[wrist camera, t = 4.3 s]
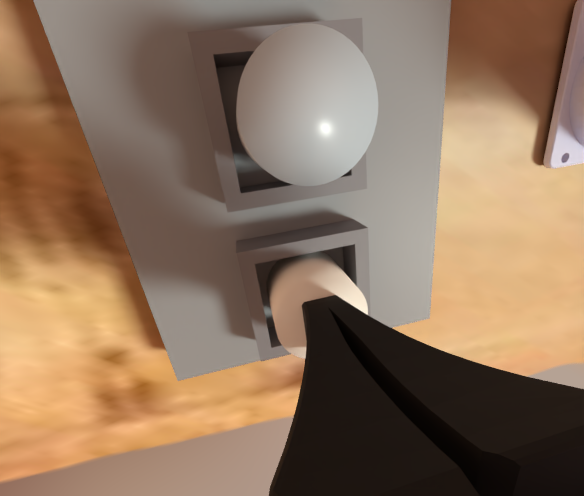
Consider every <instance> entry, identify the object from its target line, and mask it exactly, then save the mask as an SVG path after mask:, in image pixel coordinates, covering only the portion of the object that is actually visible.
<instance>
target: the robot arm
mask: <svg viewBox="0 0 584 496" xmlns="http://www.w3.org/2000/svg"><path fill="white" fill-rule="evenodd" d="M543 163H544V166H545V167H546V168H559V167H565V166H570V165H576V164H582V163H584V0H577V2H576V4H575V7H574V11H573V16H572V21H571V26H570V31H569V36H568V41H567V46H566V51H565V56H564V61H563V66H562V71H561V76H560V81H559V86H558V91H557V96H556V101H555V106H554V111H553V116H552V120H551V125H550V130H549V135H548V140H547V145H546V150H545V155H544V161H543ZM302 311H303V319H304V326H305V333H306V340H307V345H306V358H305V367H304V373H303V380H302V385H301V389H300V394H299V399H298V403H297V407H296V411H295V415H294V418H293V422H292V425H291V428H290V432H289V435H288V439H287V442H286V445H285V448H284V451H283V454H282V456H281V459H280V462H279V465H278V467H277V470H276V472H275V475H274V478H273V481H272V484H271V486H270V491H269V496H584V389H580V388H575V387H571V386H566V385H562V384H557V383H552V382H548V381H543V380H539V379H534V378H530V377H526V376H522V375H518V374H514V373H511V372H507V371H503V370H500V369H496V368H492V367H489V366H486V365H482V364H479V363H476V362H473V361H470V360H467V359H464V358H461V357H458V356H455V355H452V354H449V353H447V352H444V351H441V350H439V349H436V348H434V347H431V346H429V345H426V344H424V343H422V342H419V341H417V340H415V339H412V338H410V337H408V336H406V335H404V334H402V333H400V332H398V331H396V330H394V329H392V328H390V327H388V326H386V325H384V324H383V323H381V322H379V321H377V320H376V319H374V318H372V317H370V316H369V315H367V314H365V313H364V312H362V311H360V310H359V309H357V308H356V307H354V306H352V305H351V304H349V303H348V302H346V301H345V300H343V299H342V298H340V297H338V296H337V295H333V296H328V297H324V298H320V299H315V300H311V301H306V302H304V303H303V304H302Z"/></svg>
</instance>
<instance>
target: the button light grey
mask: <svg viewBox="0 0 584 496" xmlns="http://www.w3.org/2000/svg"><path fill="white" fill-rule="evenodd" d="M377 117H378V92H377V87H376V82H375V79H374V75H373V72H372V70H371V68H370V66H369V63H368V62H367V60H366V58H365V57H364V55H363V54H362V52H361V51H360V50H359V48H358V47H357V46H356V45H355V44H354V43H353V42H352V41H351V40H350V39H348V38H347V37H346V36H344V35H343V34H342V33H340V32H338V31H336V30H334V29H332V28H329V27H326V26H323V25H318V24H297V25H292V26H289V27H286V28H283V29H281V30H279V31H277V32H275V33H273V34H272V35H271V36H269V37H268V38H267V39H265V40H264V41H263V42H262V43H261V44H260V45H259V46H258V47H257V48H256V50H255V51H254V53H253V54H252V55H251V57H250V58H249V60H248V62H247V64H246V66H245V68H244V71H243V73H242V76H241V79H240V83H239V87H238V95H237V107H236V124H237V131H238V135H239V138H240V141H241V143H242V145H243V147H244V149H245V151H246V152H247V154H248V155H249V156H250V158H251V159H252V160H253V161H254V162H255V163H256V164H258V165H259V166H260V167H261V168H263V169H264V170H266V171H267V172H268V173H270V174H271V175H273V176H274V177H276V178H278V179H280V180H282V181H284V182H287V183H290V184H293V185H299V186H317V185H322V184H326V183H329V182H331V181H334V180H336V179H338V178H339V177H341V176H343V175H344V174H345V173H347V172H348V171H349V170H350V169H352V168H353V167H354V166H355V165H356V164H357V162H358V161H359V160H360V159H361V158H362V156H363V155H364V153H365V152H366V150H367V148H368V146H369V144H370V142H371V140H372V137H373V134H374V131H375V127H376V124H377Z"/></svg>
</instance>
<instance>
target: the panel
mask: <svg viewBox="0 0 584 496" xmlns="http://www.w3.org/2000/svg"><path fill="white" fill-rule="evenodd" d="M33 1H34V4H35V6H36V9H37V12H38V14H39V17H40V20H41V22H42V25H43V27H44V30H45V33H46V35H47V38H48V41H49V43H50V46H51V49H52V51H53V54H54V56H55V59H56V62H57V64H58V67H59V70H60V72H61V75H62V77H63V80H64V83H65V85H66V88H67V91H68V93H69V96H70V98H71V101H72V104H73V106H74V109H75V112H76V114H77V117H78V120H79V122H80V125H81V127H82V130H83V133H84V135H85V138H86V141H87V143H88V146H89V148H90V151H91V154H92V156H93V159H94V162H95V164H96V167H97V169H98V172H99V175H100V177H101V180H102V183H103V185H104V188H105V191H106V193H107V196H108V198H109V201H110V204H111V206H112V209H113V212H114V214H115V217H116V219H117V222H118V225H119V227H120V230H121V233H122V235H123V238H124V240H125V243H126V246H127V248H128V251H129V254H130V256H131V259H132V262H133V264H134V267H135V269H136V272H137V275H138V277H139V280H140V283H141V285H142V288H143V290H144V293H145V296H146V298H147V301H148V304H149V306H150V309H151V311H152V314H153V317H154V319H155V322H156V325H157V327H158V330H159V333H160V335H161V338H162V340H163V343H164V346H165V348H166V351H167V354H168V356H169V359H170V361H171V364H172V367H173V369H174V372H175V375H176V377H177V380H178V381H180V380H184V379H188V378H192V377H196V376H200V375H204V374H208V373H212V372H216V371H220V370H224V369H228V368H232V367H236V366H240V365H244V364H248V363H252V362H256V361H265V360H269V359H273V358H277V357H281V356H285V355H289V354H291V353H290V352H288V351H287V350H286V349H285V348H284V347H283V346H282V344H281V343H280V341H279V339H278V336H277V333H276V329H275V324H274V320H273V315H272V311H271V306H270V302H269V298H268V293H267V280H268V276H269V274H270V272H271V270H272V268H273V267H274V265H275V264H276V263H277V262H278V261H279V260H280V259H283V258H288V257H293V256H298V255H303V254H308V253H313V252H318V251H322V252H324V253H326V254H327V255H329V256H330V257H331V258H332V259H333V260H334V261H335V262H336V263H337V265H338V266H339V267H340V268H341V269H342V270H343V271H344V273H345V274H346V275H347V276H348V277H349V278H350V279H351V281H352V282H353V283H354V284H355V285H356V286H357V287H358V288H359V290H360V291H361V292H362V294H363V295H364V297H365V299H366V302H367V306H368V315H369V316H370V317H372V318H374V319H376V320H377V321H379V322H381V323H383V324H384V325H386V326H388V327H390V328H393V327H397V326H401V325H405V324H409V323H413V322H417V321H421V320H425V319H429V318H430V306H431V292H432V277H433V262H434V247H435V233H436V218H437V203H438V188H439V174H440V159H441V144H442V129H443V114H444V100H445V85H446V70H447V55H448V41H449V26H450V11H451V0H33ZM297 24H318V25H323V26H326V27H329V28H332V29H334V30H336V31H338V32H340V33H342V34H343V35H344V36H346V37H347V38H348V39H350V40H351V41H352V42H353V43H354V44H355V45H356V46H357V47H358V48H359V50H360V51H361V52H362V54H363V55H364V57H365V58H366V60H367V62H368V63H369V66H370V68H371V70H372V72H373V75H374V79H375V82H376V87H377V92H378V117H377V124H376V127H375V131H374V134H373V137H372V140H371V142H370V144H369V146H368V148H367V150H366V152H365V153H364V155H363V156H362V158H361V159H360V160H359V161H358V162H357V164H356V165H355V166H354V167H353V168H352V169H350V170H349V171H348V172H347V173H345V174H344V175H343V176H341V177H339V178H338V179H336V180H334V181H331V182H329V183H326V184H322V185H317V186H299V185H293V184H290V183H287V182H284V181H282V180H280V179H278V178H276V177H274V176H273V175H271V174H270V173H268V172H267V171H266V170H264V169H263V168H261V167H260V166H259V165H258V164H256V163H255V162H254V161H253V160H252V159H251V158H250V156H249V155H248V154H247V152H246V151H245V149H244V147H243V145H242V143H241V141H240V138H239V135H238V131H237V124H236V107H237V95H238V87H239V83H240V79H241V76H242V73H243V71H244V68H245V66H246V64H247V62H248V60H249V58H250V57H251V55H252V54H253V53H254V51H255V50H256V48H257V47H258V46H259V45H260V44H261V43H262V42H263V41H264V40H265V39H267V38H268V37H269V36H271V35H272V34H273V33H275V32H277V31H279V30H281V29H283V28H286V27H289V26H292V25H297Z"/></svg>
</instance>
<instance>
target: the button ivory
mask: <svg viewBox="0 0 584 496" xmlns="http://www.w3.org/2000/svg"><path fill="white" fill-rule="evenodd" d="M267 293H268V298H269V302H270V306H271V311H272V315H273V320H274V324H275V329H276V333H277V336H278V339H279V341H280V343H281V344H282V346H283V347H284V348H285V349H286V350H287V351H288V352H290V353H291V354H293V355H295V356H297V357H300V358H303V359H305V358H306V345H307V340H306V333H305V326H304V319H303V311H302V304H303V303H304V302H306V301H311V300H315V299H320V298H324V297H328V296H333V295H337V296H338V297H340V298H342V299H343V300H345V301H346V302H348V303H349V304H351V305H352V306H354V307H356V308H357V309H359V310H360V311H362V312H364V313H365V314H367V315H368V306H367V302H366V299H365V297H364V295H363V294H362V292H361V291H360V290H359V288H358V287H357V286H356V285H355V284H354V283H353V282H352V281H351V279H350V278H349V277H348V276H347V275H346V274H345V273H344V271H343V270H342V269H341V268H340V267H339V266H338V265H337V263H336V262H335V261H334V260H333V259H332V258H331V257H330V256H329V255H327V254H326V253H324V252H322V251H318V252H313V253H308V254H303V255H298V256H293V257H288V258H283V259H280V260H279V261H278V262H277V263H276V264H275V265H274V267H273V268H272V270H271V272H270V274H269V276H268V280H267Z"/></svg>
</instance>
